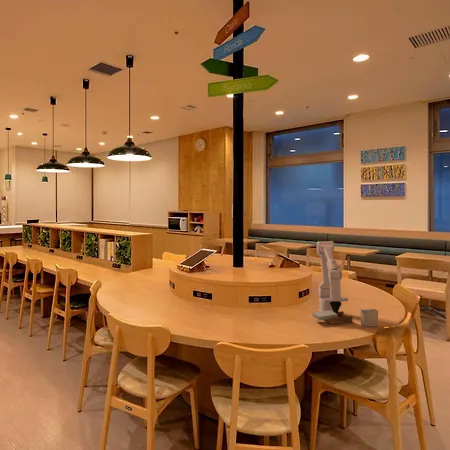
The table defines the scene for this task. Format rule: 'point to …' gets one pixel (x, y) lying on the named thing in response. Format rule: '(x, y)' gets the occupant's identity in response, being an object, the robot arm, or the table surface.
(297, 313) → the table surface
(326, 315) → the cover plate
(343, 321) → the walnut box
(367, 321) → the medicine box
